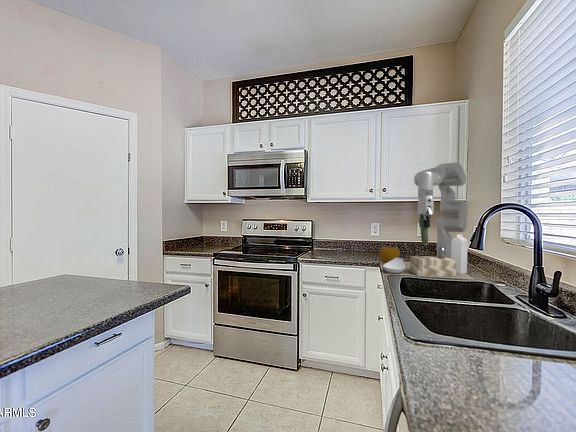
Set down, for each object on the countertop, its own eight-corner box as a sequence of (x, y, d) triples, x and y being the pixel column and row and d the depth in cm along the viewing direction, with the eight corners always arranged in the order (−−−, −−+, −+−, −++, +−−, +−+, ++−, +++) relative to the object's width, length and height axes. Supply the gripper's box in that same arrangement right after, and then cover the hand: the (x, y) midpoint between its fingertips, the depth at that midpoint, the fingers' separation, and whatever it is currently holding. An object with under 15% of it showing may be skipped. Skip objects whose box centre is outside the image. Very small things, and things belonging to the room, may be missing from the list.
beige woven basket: (445, 272, 171) (445, 246, 171) (456, 276, 160) (456, 248, 160) (410, 271, 171) (410, 245, 171) (418, 275, 160) (419, 247, 160)
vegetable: (425, 246, 163) (426, 209, 162) (418, 245, 166) (418, 209, 166) (429, 245, 165) (430, 209, 165) (422, 244, 169) (423, 209, 168)
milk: (450, 272, 173) (451, 233, 173) (456, 271, 176) (457, 233, 176) (461, 274, 168) (462, 234, 168) (467, 273, 171) (467, 234, 171)
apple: (379, 261, 205) (379, 245, 205) (399, 263, 201) (400, 246, 201) (378, 264, 193) (379, 247, 193) (400, 266, 189) (400, 248, 189)
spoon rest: (402, 276, 161) (402, 262, 161) (379, 273, 167) (380, 260, 167) (411, 269, 181) (411, 257, 181) (391, 267, 187) (391, 255, 187)
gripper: (440, 193, 157) (439, 228, 157) (425, 194, 174) (424, 226, 174) (425, 192, 157) (424, 227, 157) (412, 194, 174) (411, 226, 174)
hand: (424, 226), depth 166 cm, fingers closed on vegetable, 4 cm apart
